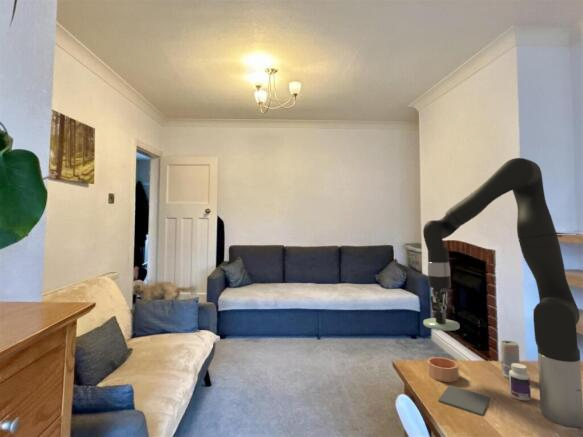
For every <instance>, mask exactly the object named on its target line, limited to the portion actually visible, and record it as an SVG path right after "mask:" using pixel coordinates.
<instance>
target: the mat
mask: <svg viewBox="0 0 583 437" xmlns="http://www.w3.org/2000/svg"><path fill="white" fill-rule="evenodd" d="M437 400H438V401H437V402H439V403H442V404H446V405H449V406H452V407H455V408H458V409H461V410H464V411H467V412H470V413H473V414H476V415H479V416H482V417H483V416H484V414H485V411H486V410H487V406H488V404H489V402H490V400H491V396H489V395H487V394H482V393H479V392H476V391H472V390H469V389H465V388H461V387H458V386H454V385H452V384H449V385H448V386H447V387H446V389H445V390H444V391H443V393H441V395H440V396H439V398H438V399H437Z"/></svg>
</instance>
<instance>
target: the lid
mask: <svg viewBox="0 0 583 437" xmlns="http://www.w3.org/2000/svg"><path fill="white" fill-rule="evenodd" d="M442 313H443V322H442V323H437V322H436V317H433V318H431V317H430V318H426V319H423V322H422V323H423V326H424V327H425V328H429V329H432V330H437V331H446V332H447V331H449V332H450V331H456V330H459V329H460V328H461V326H460V323H459V322H458V321H455V320H452V319H447V316H446V315H447V314H446V315H445V309H444V308H443V312H442Z"/></svg>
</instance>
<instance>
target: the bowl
mask: <svg viewBox="0 0 583 437" xmlns="http://www.w3.org/2000/svg"><path fill="white" fill-rule="evenodd" d="M426 367H427V374H428V376H429V377H430V378H431V377H432V378H431V379H433V378H434V380H435V379H436V381H438V380H439V382H442V381H443V382H442V383H455V382H457V381H459V375H460V374H459V373H460V372H459V364H458V363H457V361H455V360H453V359H450V358H446V357H442V356H441V357H438V356H437V357H436V356H434V357H429V358H428V359H427V366H426ZM454 381H455V382H454Z"/></svg>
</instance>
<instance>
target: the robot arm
mask: <svg viewBox="0 0 583 437" xmlns="http://www.w3.org/2000/svg"><path fill="white" fill-rule="evenodd" d="M509 192H512V193H513V196H514V199H515V201H516V202H515V203H516V206H517V219H516V233H517V239H518V243H519V247H520V251H521V253H522V257H523V258H524V261H525V262H526V264H527V266H528V268H529V270H530V272H531V274H532V275H533V278H534V279H535V283H536V287H537V291H538V299H539V302H538V303H537V304H536V305H535V307H534V309H533V330H534V341H535V344H536V346H537V347H536V348H537V364H538V367H537V368H538V384H539V402H540V403H539V407H540V413H541V415H542V416H543V417H545V418H546V419H547V420H549V421H552V422H553V423H556V424H559V425H561V426H566V427H572V428H576V427H577V428H581V429H583V386H582V371H581V369H582V368H581V366H582V365H581V350H580V349H579V345H578V335H577V334H578V333H577V325H578V323H579V322H580V318H581V317H580V310H579V308H578V305H577V303H576V301H575V298H574V296H573V294H572V293H573V292H572V290H571V289H570V286H569V282H568V280H567V277H566V275H567V274H566V269H565V264H564V258H563V253H562V249H561V246H560V242H559V237H558V235H557V234H558V233H557V231H556V227H555V225H554V222H553V218H552V215H551V212H550V210H549V207H548V205H547V200H546V197H545V190H544V182H543V175H542V171H541V168H540V166H539V165H538V164H537V163H536V162H535V161H532V160H530V159H527V158H523V157H516V158H512V159H509V160H507V161H506V162H505V163H504V164H502V165H501V166H500V167H499V168H498V169H497V170H496V171H495V172H493V173H492V175H491V176H490V177H489V178H487V180H486V181H484V182H483V184H481V185H480V186H479V187H477V188H476V189H475V190H474V191H473V192H470V194H469V195H467V196H466V197H464V198H463V199H461V200H460V201H458V203H456V204H455V205H453V206H452V207H450V208H449V209H448V210H447V211H445V215H444V216H443V217H442V218H440V219H439V220H437V219H436V220H429V221H427V222H426V223H425V224H424V225H423V226H424V227H423V229H422V232H423V233H422V234H423V239H424V243H425V247H426V250H427V277H428V278H427V282H428V283H427V284H428V285H427V286H428V287H430V288H432V289H433V292H432V296H430V301H431V302H430V303H431V307H432V312H434V313H435V318H436V322H437V323H442V322H443V313H442V312H443V308H444V309H445V315H447V312H446V311H447V308H448V307H449V294H450V293H449V291H447V289H450V288H451V287H452V283H451V282H452V281H451V266H450V256H449V254H450V253H449V249H448V247H447V246H445V245H444V241H443V239H446V238H448V237H450V236H452V234H454V233H455V232H456V231H457V230H459V228H460V227H462V226H463V225H465V224H466V223H468V222H469V221H471V220H473V219H474V218H476V217H477V216H478V215H480V214H481V213H482V212H483V211H484V210H485V209H486V208H487V207H488V206H489V205H490V204H492V203H493V201H495V200H496V199H498V198H500V197H501V196H503V195H505V194H507V193H509Z"/></svg>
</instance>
